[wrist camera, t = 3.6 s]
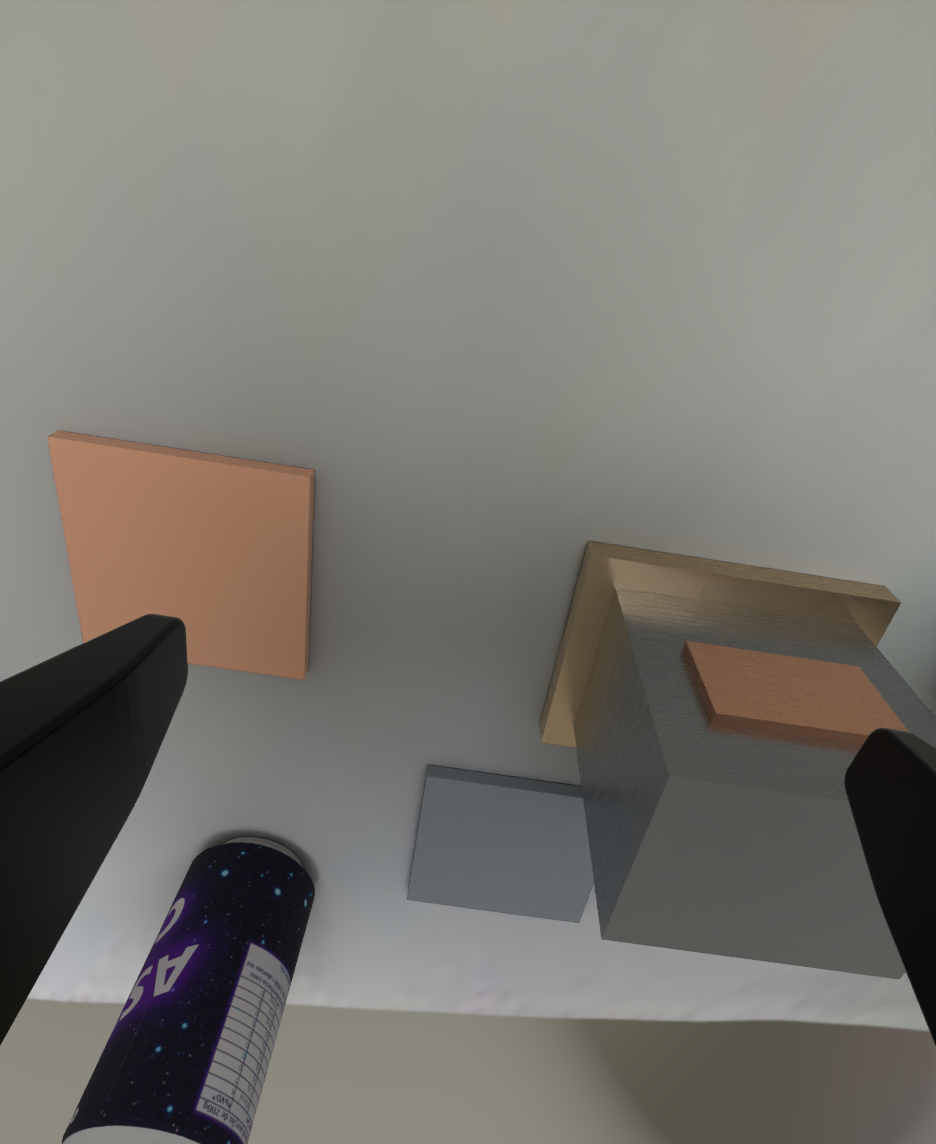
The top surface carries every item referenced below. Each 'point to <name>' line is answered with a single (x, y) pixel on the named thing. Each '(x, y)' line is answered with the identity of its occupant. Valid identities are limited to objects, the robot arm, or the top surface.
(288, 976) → the beverage can
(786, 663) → the grey unit
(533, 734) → the top surface
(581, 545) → the top surface
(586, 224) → the top surface
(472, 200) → the top surface
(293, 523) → the terracotta pad
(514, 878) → the slate pad
